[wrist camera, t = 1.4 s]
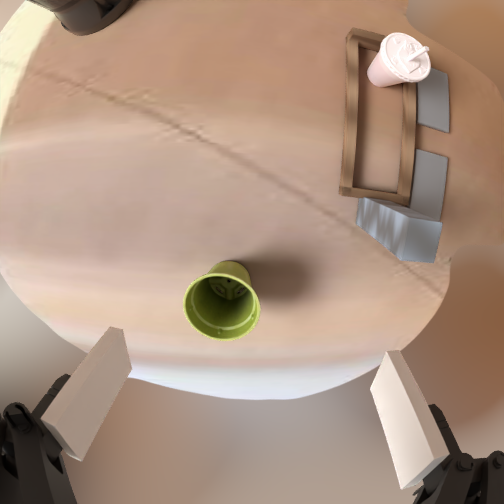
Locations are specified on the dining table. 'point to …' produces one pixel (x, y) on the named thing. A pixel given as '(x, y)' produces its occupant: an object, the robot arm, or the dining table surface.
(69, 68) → the dining table surface
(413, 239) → the sled
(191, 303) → the plant pot
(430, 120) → the broken strip
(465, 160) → the dining table surface
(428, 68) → the smoothie
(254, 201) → the dining table surface
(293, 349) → the dining table surface
